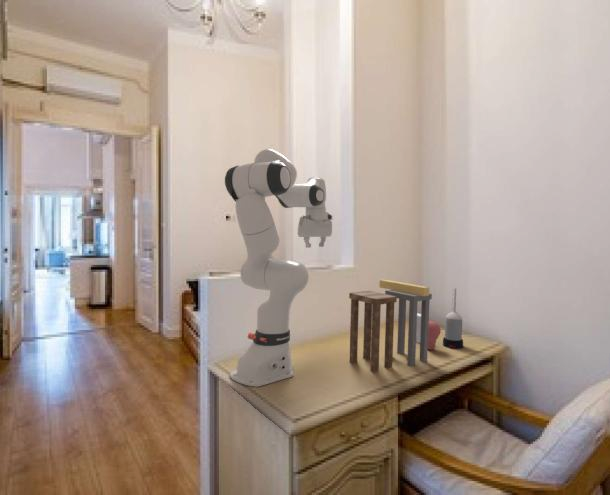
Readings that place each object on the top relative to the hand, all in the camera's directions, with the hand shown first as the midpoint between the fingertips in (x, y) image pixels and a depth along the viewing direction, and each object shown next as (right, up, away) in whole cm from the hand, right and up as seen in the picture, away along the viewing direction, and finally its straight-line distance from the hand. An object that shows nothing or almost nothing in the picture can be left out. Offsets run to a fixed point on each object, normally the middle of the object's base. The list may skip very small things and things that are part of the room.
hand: (314, 247), depth 171 cm
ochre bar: (+34, -17, -20) cm, 43 cm away
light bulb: (+48, -43, -9) cm, 65 cm away
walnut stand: (+20, -43, -27) cm, 55 cm away
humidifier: (+59, -43, -3) cm, 73 cm away
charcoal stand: (+35, -43, -21) cm, 59 cm away
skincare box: (+46, -42, +3) cm, 63 cm away
